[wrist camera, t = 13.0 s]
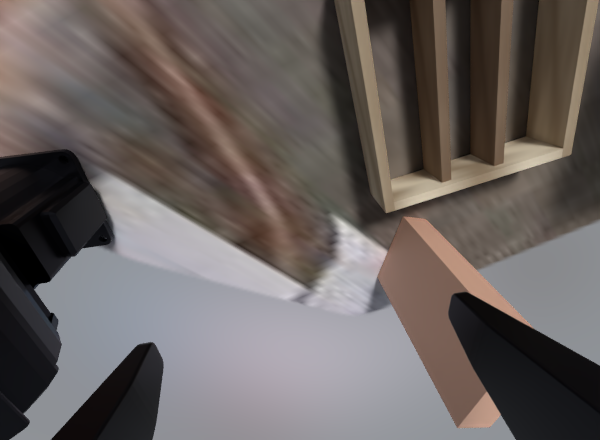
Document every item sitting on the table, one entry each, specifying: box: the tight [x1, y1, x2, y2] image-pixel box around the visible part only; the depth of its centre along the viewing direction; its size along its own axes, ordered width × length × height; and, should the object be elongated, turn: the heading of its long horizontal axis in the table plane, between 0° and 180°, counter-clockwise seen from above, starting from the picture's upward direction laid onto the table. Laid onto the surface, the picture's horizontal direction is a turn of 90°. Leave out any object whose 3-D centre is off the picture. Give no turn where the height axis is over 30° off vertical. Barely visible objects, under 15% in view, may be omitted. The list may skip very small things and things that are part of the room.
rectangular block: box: [378, 216, 534, 428], centre depth 20 cm, size 2×6×12 cm, turn 168°
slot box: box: [334, 0, 599, 213], centre depth 17 cm, size 12×13×3 cm
